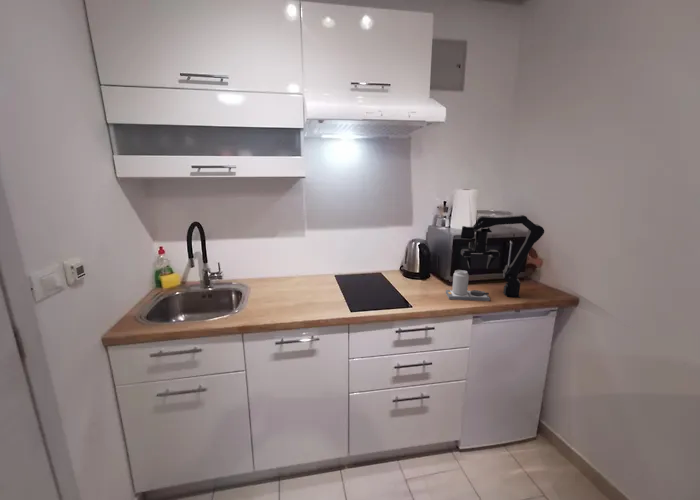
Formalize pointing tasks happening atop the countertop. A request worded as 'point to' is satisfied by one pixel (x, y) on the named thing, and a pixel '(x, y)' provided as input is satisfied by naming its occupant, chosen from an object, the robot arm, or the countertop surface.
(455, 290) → the can
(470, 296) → the grey flat device
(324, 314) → the countertop surface
